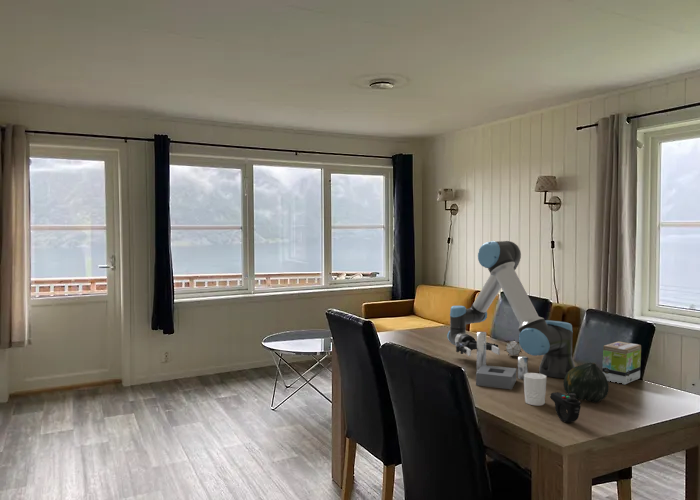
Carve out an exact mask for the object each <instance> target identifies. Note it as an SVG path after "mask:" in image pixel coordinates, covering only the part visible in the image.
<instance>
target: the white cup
mask: <svg viewBox="0 0 700 500" xmlns="http://www.w3.org/2000/svg"><path fill="white" fill-rule="evenodd" d="M547 377H548V376H545V375H543V374H541V373H538V372H528V373H526V374H524V380H523V391H524V392H523V393H524V402H525V404H528V405H530V406H531V405H532V406H539V407H540V406H544V405H545V403H546V402H545V401H546V391H547Z"/></svg>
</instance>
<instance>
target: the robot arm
mask: <svg viewBox="0 0 700 500" xmlns="http://www.w3.org/2000/svg"><path fill="white" fill-rule="evenodd" d="M521 258H522V253H521V249H520V247H519V246H518V245H517V243H515V242H513V241H510V240H501V241H500V240H499V241H495V240H491V241H486V242H484V243H482V245H481V246H480V247H479V248H478V252H477V260H478V263H479V265H481V267H483V268H485V269H487V270H488V272H489V273H490V275H489V277H488V278H487V280H486V282H485V283H484V284H483V286H482V289H481V290H480V292H479V293H478V295H477V296H476V298H475V300H474V302H473V303H472V304H471V307H469V308H466V306H464V305H452V306H451V307H450V312H449V316H450V317H449V326H450V327H449V330H448V331H447V334H446V335H447V339H448V341H449V342H450V343H451V344H452V345H454V346H455V351H456V353H460V355H463V354H465V355H467V356H468V357H471V356H472V351H473V350H477V339H475V337H474V336H472V335H470V334H468V333H466V329H467V325H470V324H477V323H482V322H484V321H486V319H487V318H488V309H489V308H490V306H491V305H492V303H493V302H494V300H495V299H496V297H497V295H498V294H499V292H500V290H501V289H502V291H503V294H504V295H505V297H506V301H507V302H508V304H509V306H510V308H511V311H512V312H513V314H514V316H515V318H516V320H517V322H518V323H519V326H518V332H519V335H518V337H519V338H518V342H519V344H520V346H521V350H523V352H525V353H526V354H528V355H531V356H542V359H541V361H540V364H539V368H538V369H539V371H538V372H539V374H543V375H545V376H546V377H549V378H556V379H564V378H565V376H566V375H567V373H568V372H569V371H570V370H571V369H572V368H574V367H576V366H575V361H574V359H573V333H574V332H573V325H572V323H569V322H566V321H559V320H550V319H549V320H548V319H546V320H545V318H544V317H541V316H539V314H538V312H537V311H536V308H535V306H534V304H533V302H532V301H531V298H530V297H529V295H528V294H527V292H526V289H525V287H524V286H523V283H522V281H521V280H520V278H519V276H518V274H517V272H516V269H517V268H518V266H519V264H520V261H521ZM500 350H501V349H500V348H499V344H496V343H492V342H487V341H486V351H491V352H492V353H494V354H495V355H497V356H500V354H501V353H500V352H501V351H500Z"/></svg>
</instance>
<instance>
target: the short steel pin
mask: <svg viewBox="0 0 700 500" xmlns="http://www.w3.org/2000/svg"><path fill="white" fill-rule="evenodd" d="M517 356H518V355H517ZM528 366H529V359H528V356H525V355H519V356H518V357H517V379H519V380H522V381H524V374H526V373H529V371H528V370H529V368H528Z"/></svg>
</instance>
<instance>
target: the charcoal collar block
mask: <svg viewBox="0 0 700 500" xmlns="http://www.w3.org/2000/svg"><path fill="white" fill-rule="evenodd" d="M516 382H517V367H516V368H515V367H508V366H507V367H505V366H495V365H487V364H486V365H482V366H481V368H480V369H479V370H478V371H477V370H476V372H475V385H476V386H479V387H488V388H497V389H506V390H513V387H514V386H515V383H516Z"/></svg>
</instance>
